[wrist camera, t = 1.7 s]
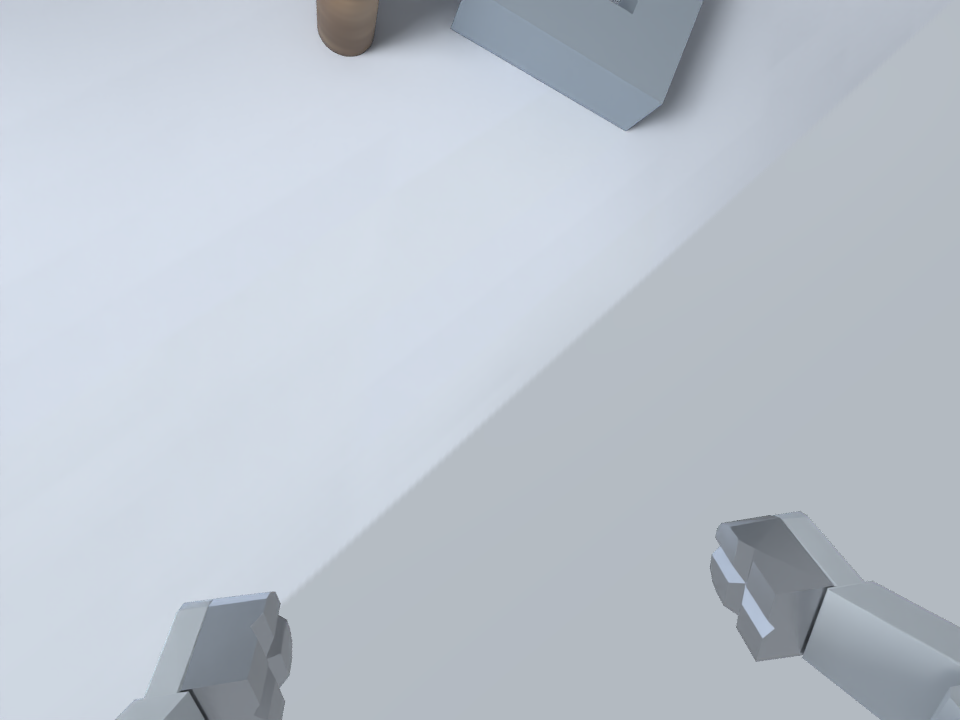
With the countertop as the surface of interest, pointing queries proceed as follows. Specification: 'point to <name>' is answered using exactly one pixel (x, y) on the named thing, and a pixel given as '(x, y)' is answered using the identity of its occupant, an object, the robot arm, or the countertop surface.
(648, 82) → the socket block
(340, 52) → the dowel
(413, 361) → the countertop surface
